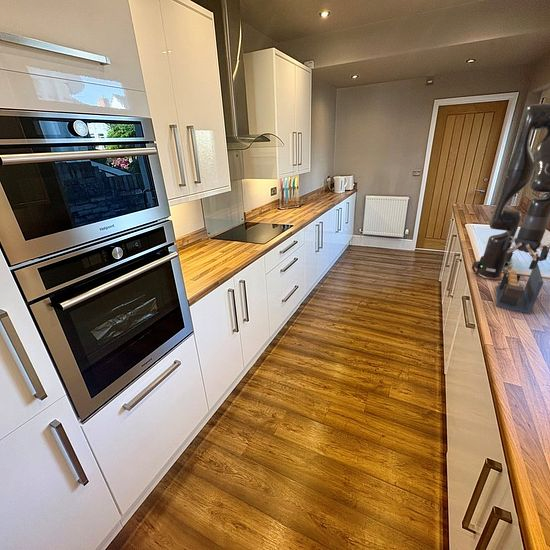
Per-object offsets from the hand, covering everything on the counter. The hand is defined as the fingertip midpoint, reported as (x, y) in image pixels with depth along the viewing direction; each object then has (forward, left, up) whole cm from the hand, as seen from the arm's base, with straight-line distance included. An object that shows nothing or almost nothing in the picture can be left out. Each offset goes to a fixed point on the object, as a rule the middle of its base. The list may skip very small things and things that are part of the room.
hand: (519, 265), depth 118 cm
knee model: (-22, +38, -16) cm, 48 cm away
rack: (+1, +2, -16) cm, 16 cm away
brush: (+1, -1, -9) cm, 9 cm away
